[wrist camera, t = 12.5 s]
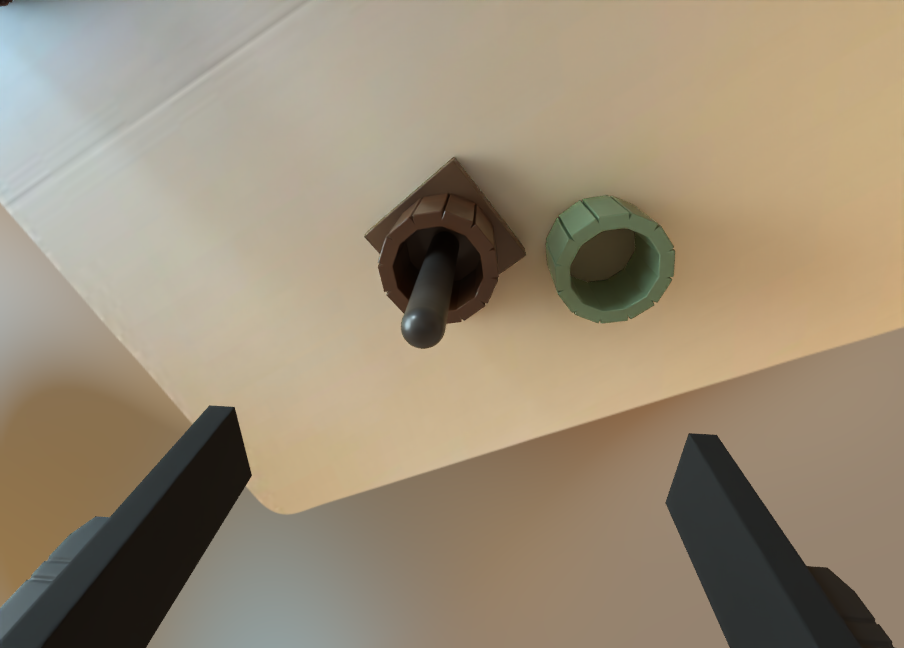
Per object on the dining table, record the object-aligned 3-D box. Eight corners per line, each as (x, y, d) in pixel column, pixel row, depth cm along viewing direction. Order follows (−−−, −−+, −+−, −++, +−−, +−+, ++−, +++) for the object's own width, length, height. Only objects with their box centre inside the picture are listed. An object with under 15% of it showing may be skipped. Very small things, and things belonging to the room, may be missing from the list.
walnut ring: (451, 171, 28) (445, 185, 24) (516, 254, 31) (521, 281, 26) (373, 237, 31) (354, 261, 26) (438, 310, 33) (431, 343, 29)
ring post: (454, 156, 29) (429, 205, 17) (524, 248, 32) (551, 352, 19) (368, 230, 32) (290, 321, 19) (439, 309, 35) (413, 437, 22)
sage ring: (614, 174, 29) (637, 188, 25) (666, 254, 32) (695, 281, 27) (526, 238, 32) (533, 262, 27) (580, 309, 34) (594, 341, 29)
